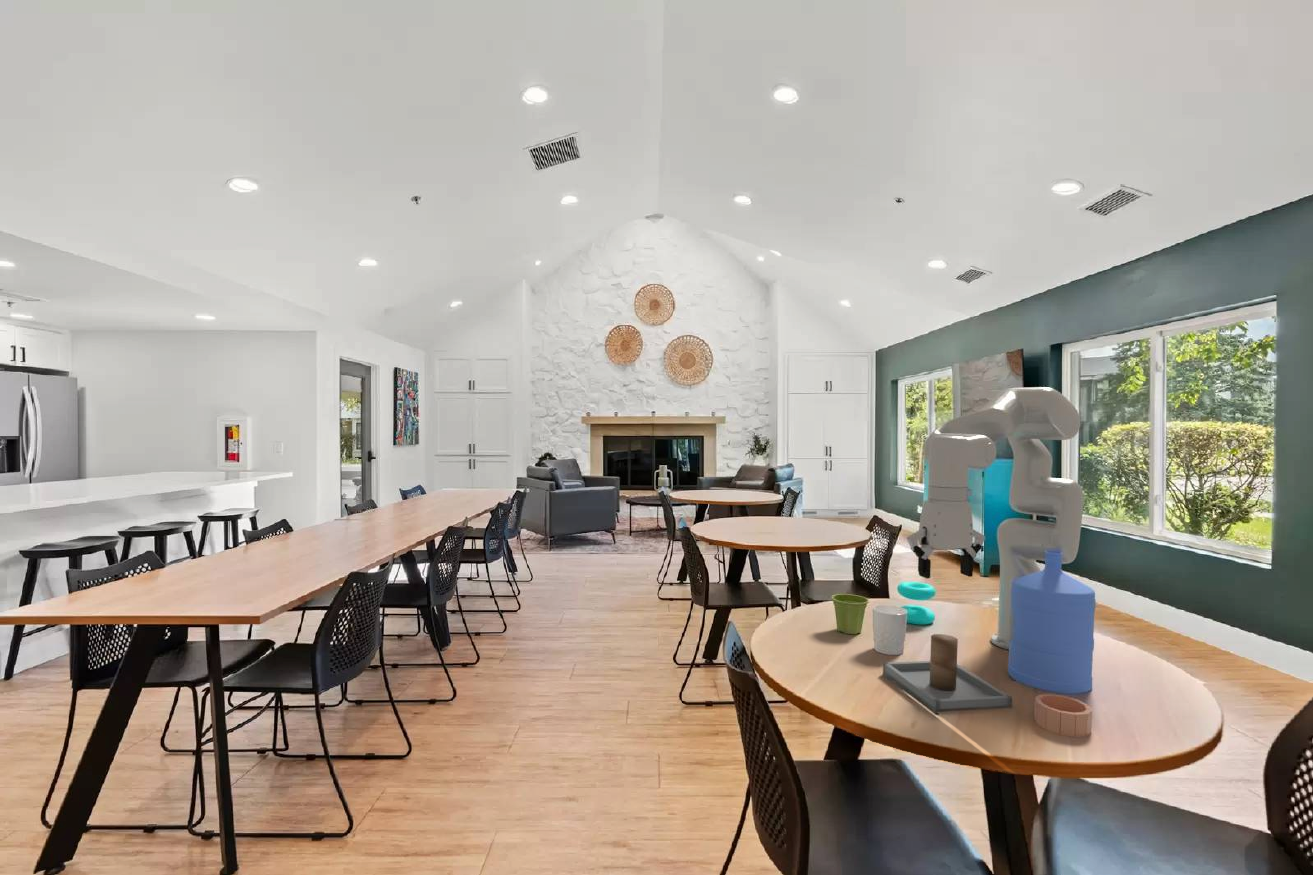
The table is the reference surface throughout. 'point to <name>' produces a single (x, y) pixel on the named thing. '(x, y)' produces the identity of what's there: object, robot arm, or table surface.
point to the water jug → (1052, 630)
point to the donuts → (917, 592)
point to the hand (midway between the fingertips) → (945, 576)
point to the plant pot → (849, 612)
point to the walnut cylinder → (943, 662)
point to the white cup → (889, 629)
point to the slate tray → (965, 697)
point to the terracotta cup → (1063, 715)
